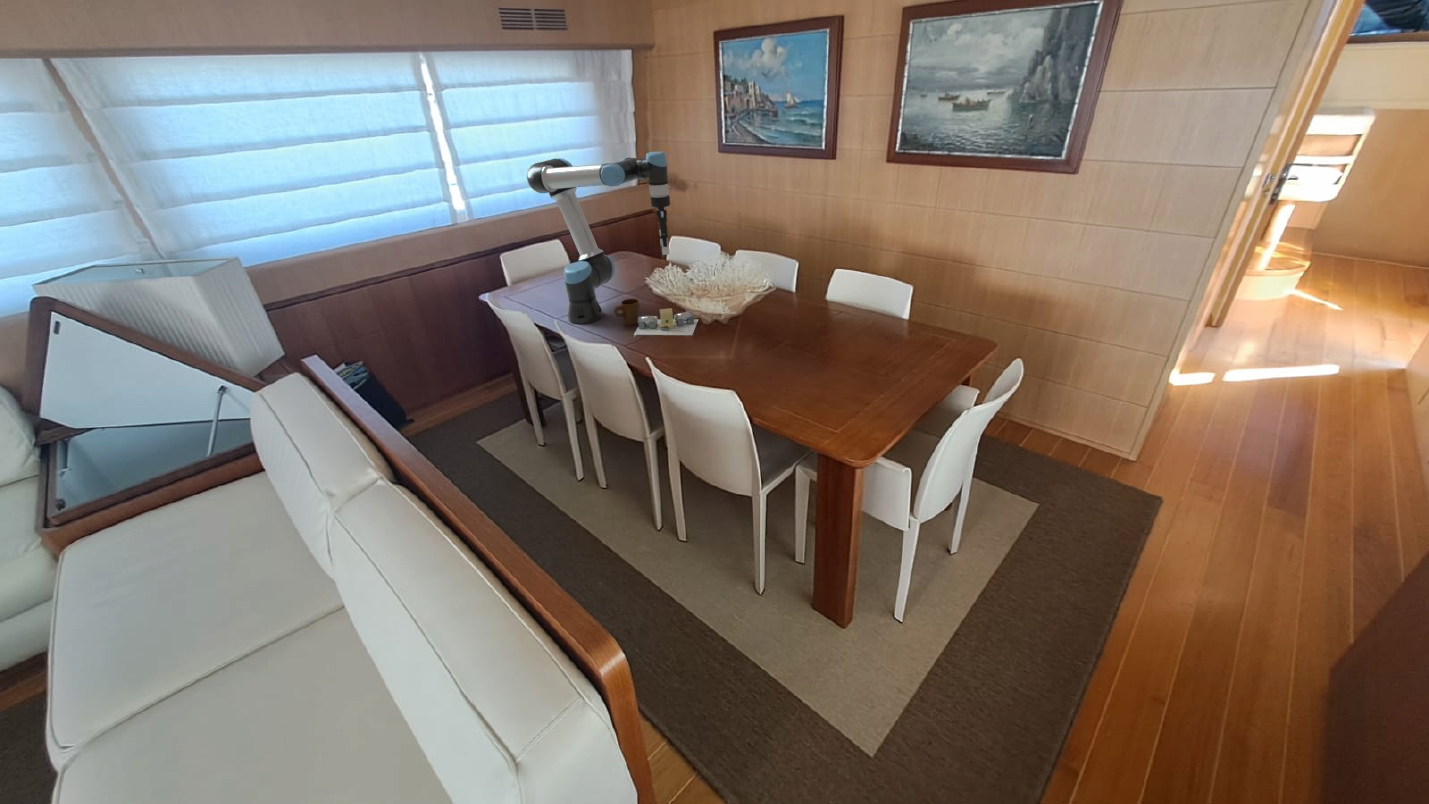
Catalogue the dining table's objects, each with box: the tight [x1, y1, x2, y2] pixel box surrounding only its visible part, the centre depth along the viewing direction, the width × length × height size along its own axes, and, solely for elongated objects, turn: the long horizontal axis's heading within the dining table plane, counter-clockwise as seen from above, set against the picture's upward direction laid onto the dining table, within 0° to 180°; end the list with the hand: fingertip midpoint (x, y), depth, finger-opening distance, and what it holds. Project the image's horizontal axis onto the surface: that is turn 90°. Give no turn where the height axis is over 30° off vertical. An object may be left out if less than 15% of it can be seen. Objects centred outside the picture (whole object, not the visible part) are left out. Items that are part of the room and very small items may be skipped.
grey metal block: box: [673, 310, 695, 327], centre depth 225 cm, size 8×5×5 cm, turn 112°
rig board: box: [633, 318, 699, 338], centre depth 224 cm, size 24×16×2 cm, turn 82°
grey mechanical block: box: [637, 315, 658, 329], centre depth 224 cm, size 8×5×5 cm, turn 82°
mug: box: [613, 298, 642, 326], centre depth 229 cm, size 12×8×9 cm, turn 131°
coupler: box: [659, 307, 674, 329], centre depth 222 cm, size 5×5×7 cm
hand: (665, 249), depth 223 cm, fingers open, 13 cm apart
